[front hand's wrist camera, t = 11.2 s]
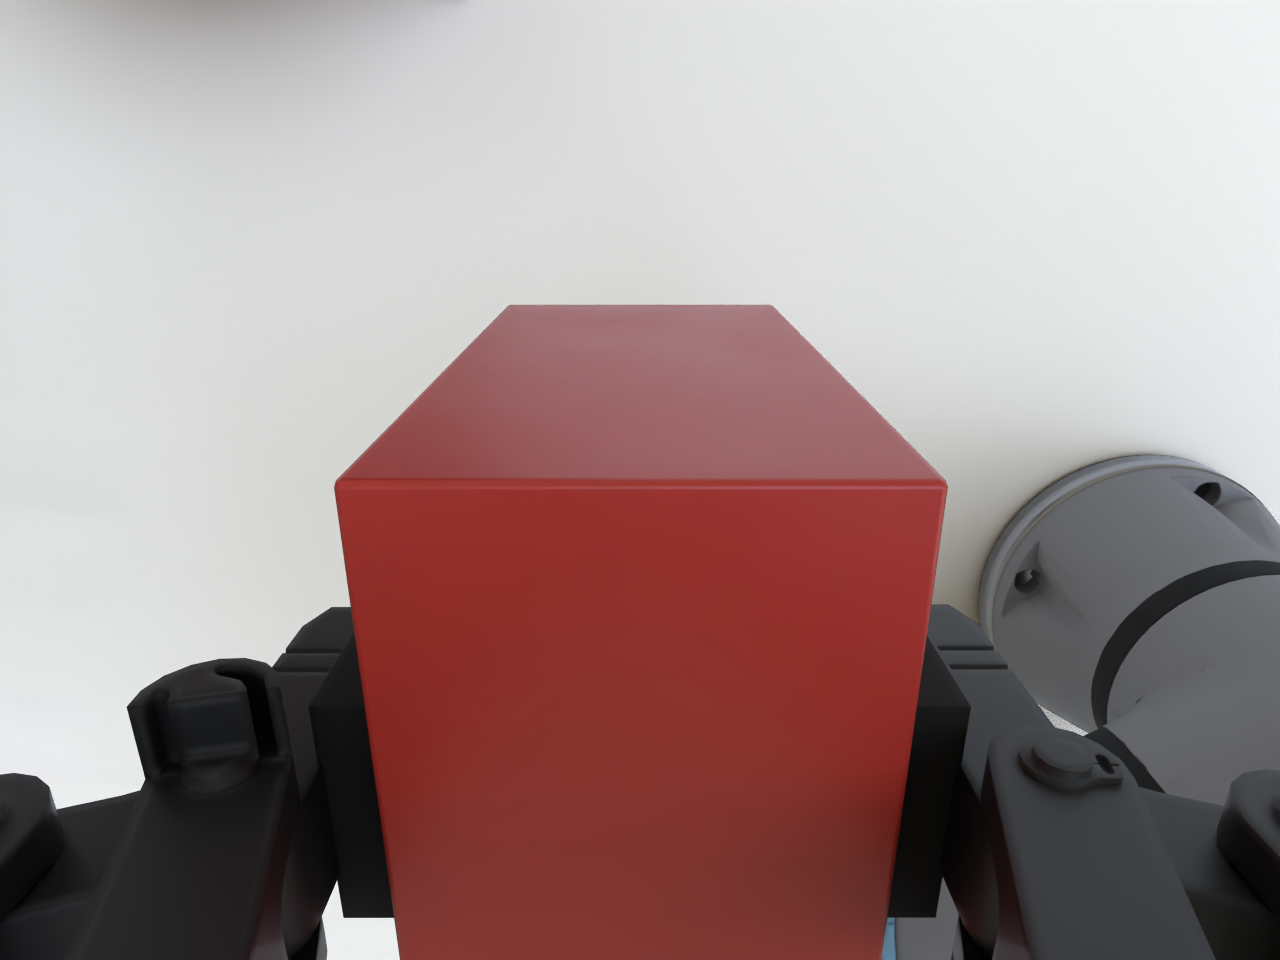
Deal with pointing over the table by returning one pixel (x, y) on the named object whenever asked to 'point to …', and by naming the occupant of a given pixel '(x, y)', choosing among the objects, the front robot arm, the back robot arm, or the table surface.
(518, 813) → the brick
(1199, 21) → the table surface
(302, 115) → the table surface
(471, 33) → the table surface
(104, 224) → the table surface
